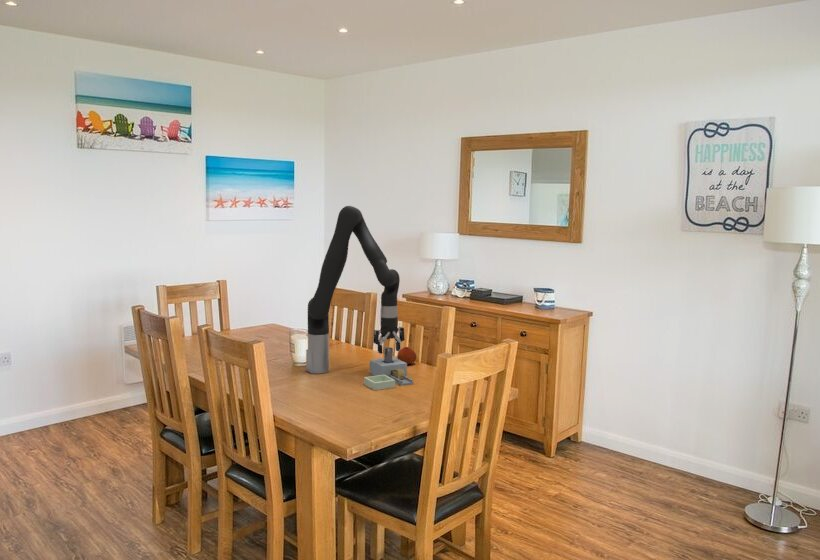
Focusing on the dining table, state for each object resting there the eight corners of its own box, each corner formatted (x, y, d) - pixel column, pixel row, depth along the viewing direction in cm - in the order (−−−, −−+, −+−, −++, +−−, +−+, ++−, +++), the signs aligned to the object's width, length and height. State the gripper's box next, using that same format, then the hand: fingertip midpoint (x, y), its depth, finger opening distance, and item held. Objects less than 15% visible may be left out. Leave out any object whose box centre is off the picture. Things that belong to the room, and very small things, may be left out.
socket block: (419, 383, 272) (420, 369, 271) (394, 386, 266) (394, 372, 265) (393, 370, 291) (393, 357, 291) (369, 373, 285) (369, 359, 285)
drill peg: (386, 376, 281) (386, 349, 279) (382, 374, 284) (382, 347, 282) (393, 375, 283) (394, 348, 281) (389, 373, 286) (390, 346, 284)
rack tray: (374, 390, 260) (374, 383, 260) (363, 384, 268) (363, 377, 268) (395, 387, 265) (395, 380, 265) (384, 381, 273) (384, 374, 273)
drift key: (404, 378, 274) (404, 369, 274) (397, 379, 273) (398, 370, 272) (393, 373, 282) (394, 364, 281) (387, 374, 280) (387, 365, 280)
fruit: (405, 367, 297) (405, 350, 296) (393, 363, 304) (393, 346, 303) (420, 364, 302) (420, 347, 301) (408, 360, 309) (408, 344, 308)
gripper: (399, 312, 287) (398, 348, 289) (370, 315, 280) (370, 352, 282) (407, 315, 281) (407, 352, 283) (378, 318, 274) (378, 355, 276)
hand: (389, 352), depth 282 cm, fingers open, 8 cm apart
